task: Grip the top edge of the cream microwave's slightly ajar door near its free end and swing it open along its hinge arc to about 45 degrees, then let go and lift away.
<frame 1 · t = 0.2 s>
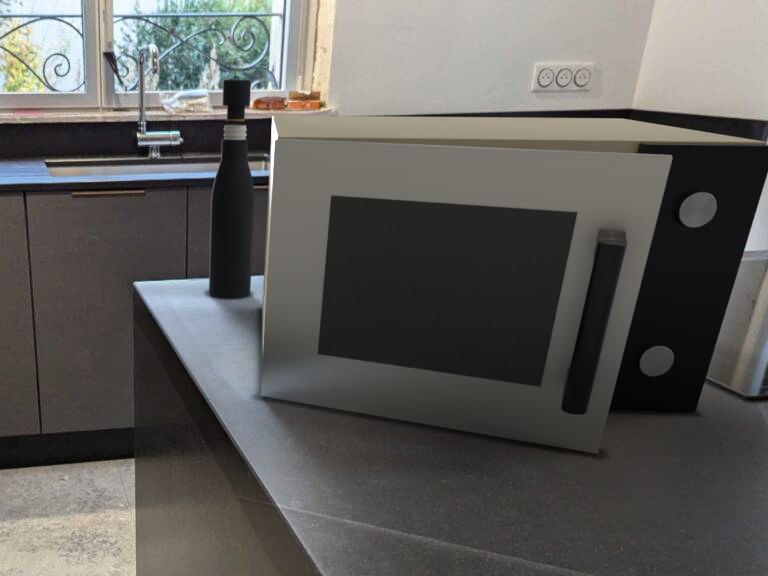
black screw-cap bottle: (229, 294, 127), on the counter
microwave door: (429, 301, 74), point 13 cm above the counter, hinge at 20.0°
microwave: (440, 350, 102), on the counter
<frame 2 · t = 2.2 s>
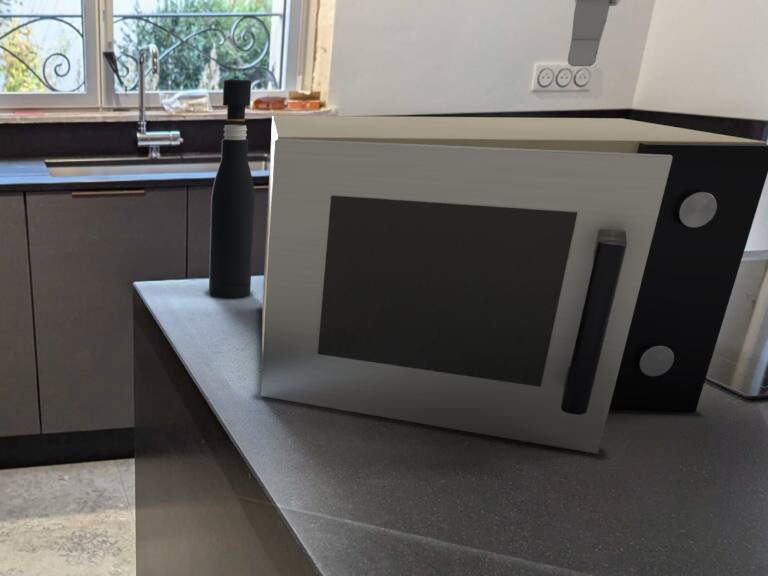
hand: (581, 66, 65), 32 cm above the counter, tool pointing down, fingers open, 8 cm apart
nothing on the counter moved.
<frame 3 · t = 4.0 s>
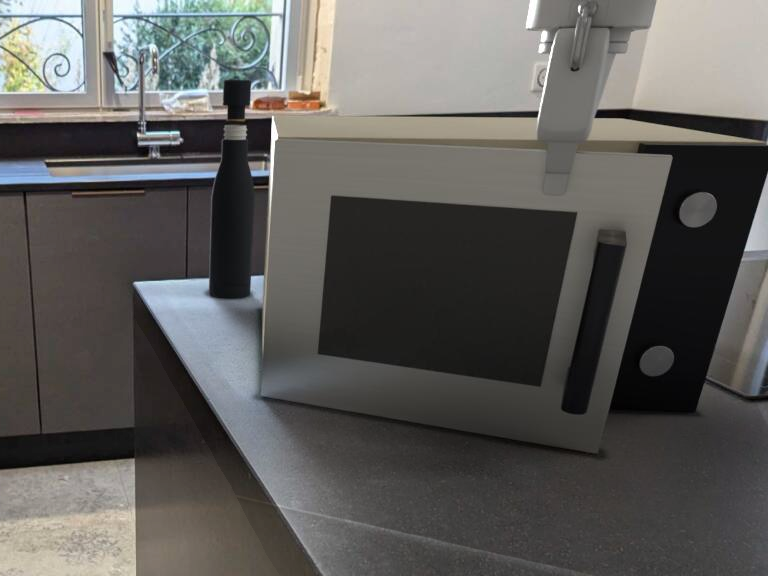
hand: (554, 192, 69), 23 cm above the counter, tool pointing down, fingers closed on microwave door, 2 cm apart
microwave door: (429, 301, 74), point 13 cm above the counter, hinge at 20.0°, touching gripper
everything else where it was.
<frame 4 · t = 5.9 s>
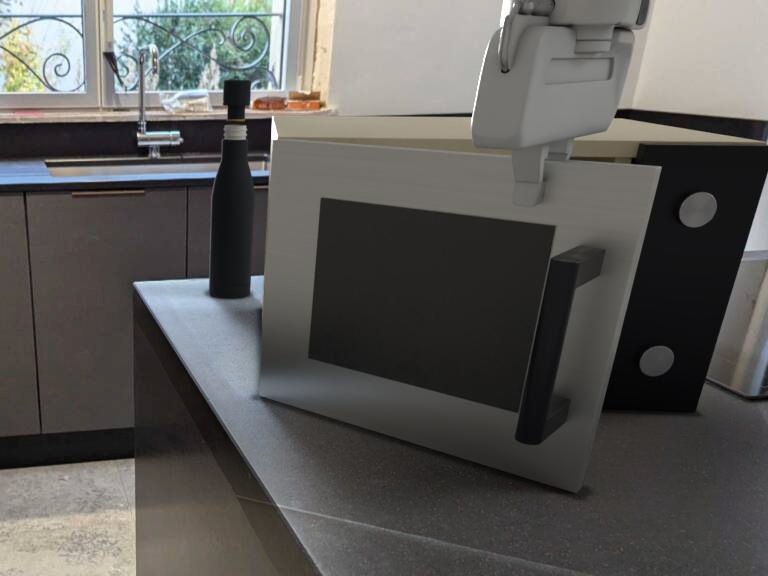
hand: (534, 203, 64), 23 cm above the counter, tool pointing down, fingers closed on microwave door, 2 cm apart
microwave door: (401, 311, 71), point 13 cm above the counter, hinge at 36.4°, touching gripper
everything else where it was.
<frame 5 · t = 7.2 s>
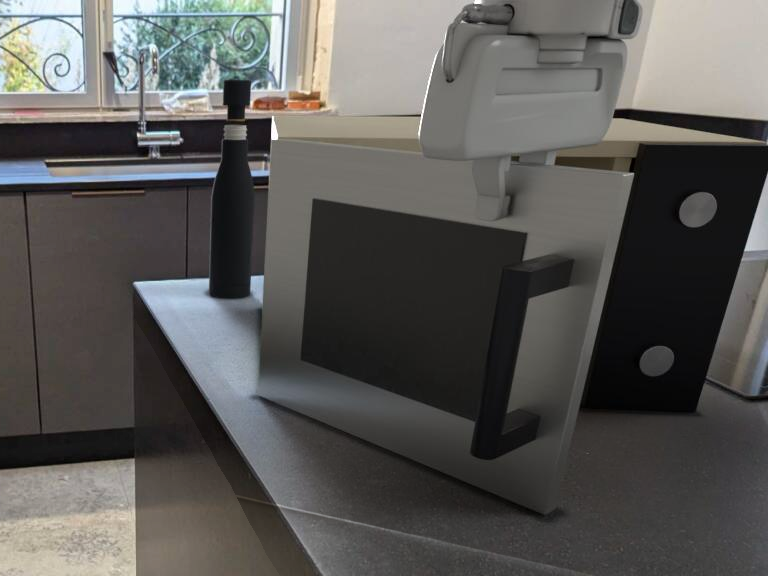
hand: (505, 216, 62), 22 cm above the counter, tool pointing down, fingers open, 3 cm apart
microwave door: (378, 316, 69), point 13 cm above the counter, hinge at 46.0°
everything else where it was.
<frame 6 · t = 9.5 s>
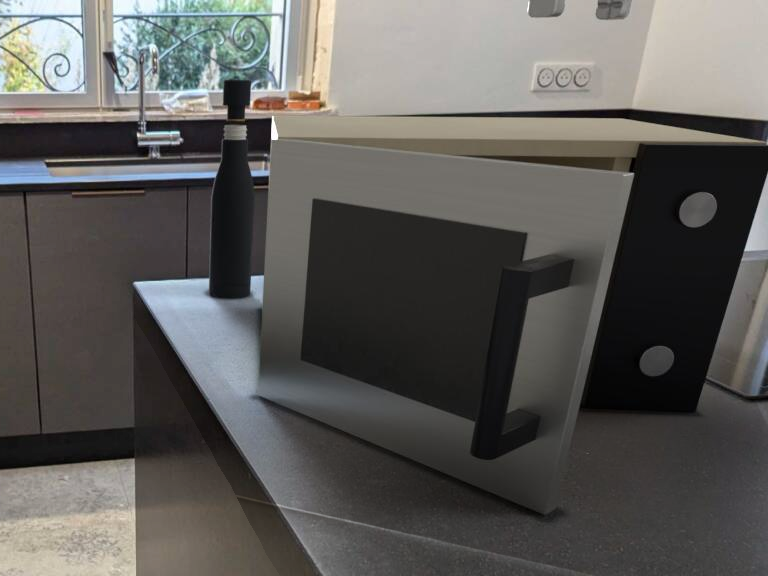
hand: (579, 18, 57), 35 cm above the counter, tool pointing down, fingers open, 8 cm apart
nothing on the counter moved.
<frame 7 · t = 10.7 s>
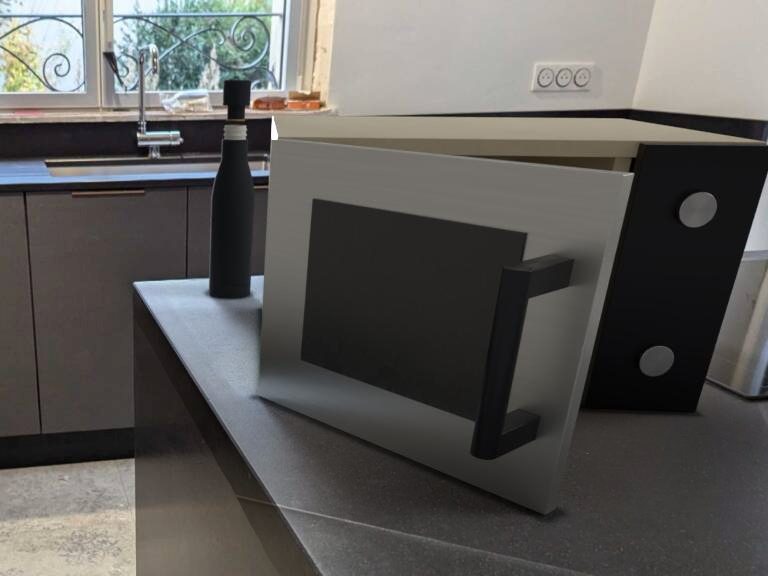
nothing on the counter moved.
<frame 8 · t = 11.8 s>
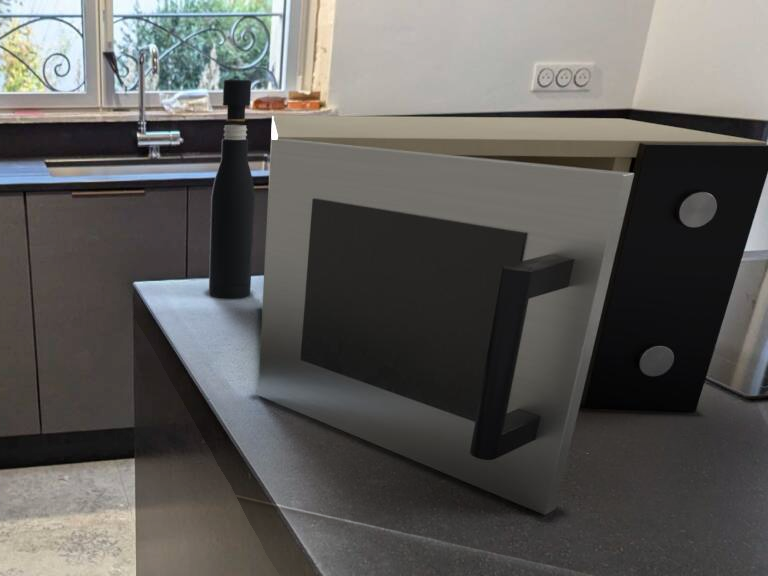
nothing on the counter moved.
at the end: microwave door at +46° (first picture: +20°); the gripper is holding nothing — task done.
